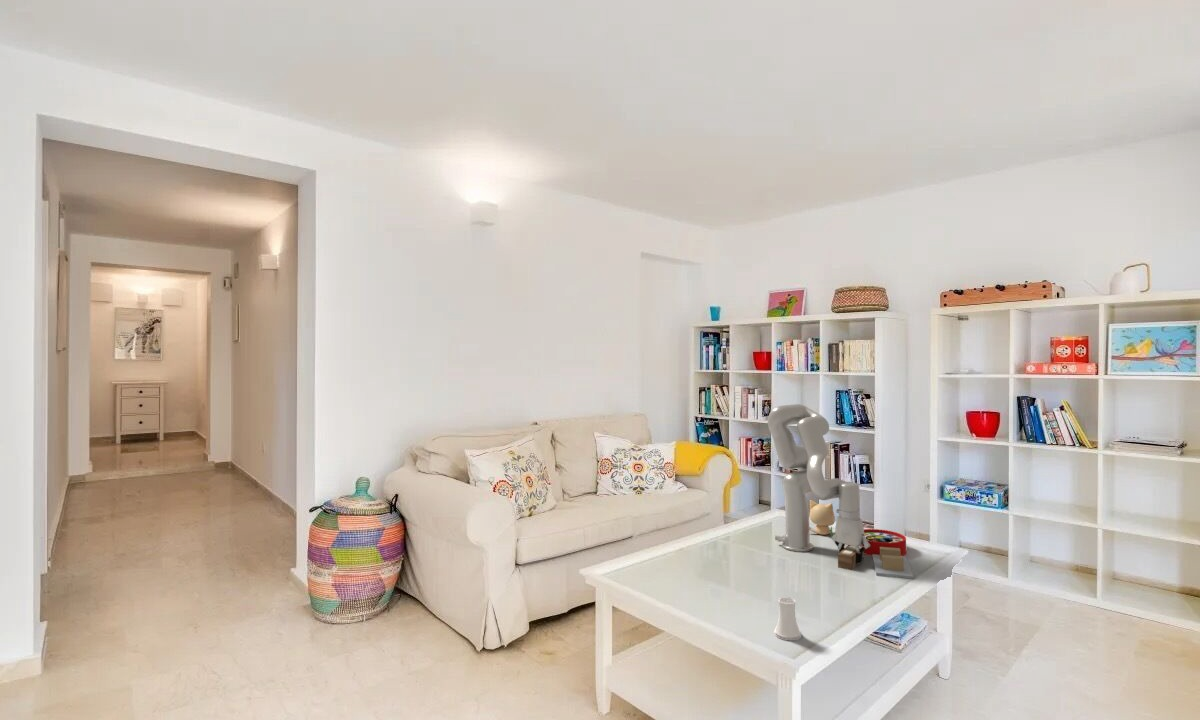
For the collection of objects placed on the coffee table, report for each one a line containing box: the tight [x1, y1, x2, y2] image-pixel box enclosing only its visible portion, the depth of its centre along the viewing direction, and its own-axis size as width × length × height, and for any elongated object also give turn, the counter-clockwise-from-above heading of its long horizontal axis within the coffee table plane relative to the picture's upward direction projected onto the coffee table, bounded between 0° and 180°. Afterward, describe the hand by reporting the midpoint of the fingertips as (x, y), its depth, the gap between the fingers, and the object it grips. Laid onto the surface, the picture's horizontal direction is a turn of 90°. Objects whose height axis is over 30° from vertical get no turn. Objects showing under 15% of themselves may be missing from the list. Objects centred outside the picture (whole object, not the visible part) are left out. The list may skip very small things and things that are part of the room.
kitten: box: [809, 499, 836, 536], centre depth 275 cm, size 15×10×15 cm
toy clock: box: [861, 528, 907, 557], centre depth 253 cm, size 20×6×20 cm
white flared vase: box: [773, 596, 802, 641], centre depth 177 cm, size 8×8×10 cm
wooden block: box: [837, 545, 864, 571], centre depth 237 cm, size 16×5×5 cm, turn 142°
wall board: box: [871, 547, 914, 580], centre depth 231 cm, size 12×22×6 cm, turn 159°
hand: (850, 560), depth 237 cm, fingers closed on wooden block, 5 cm apart
